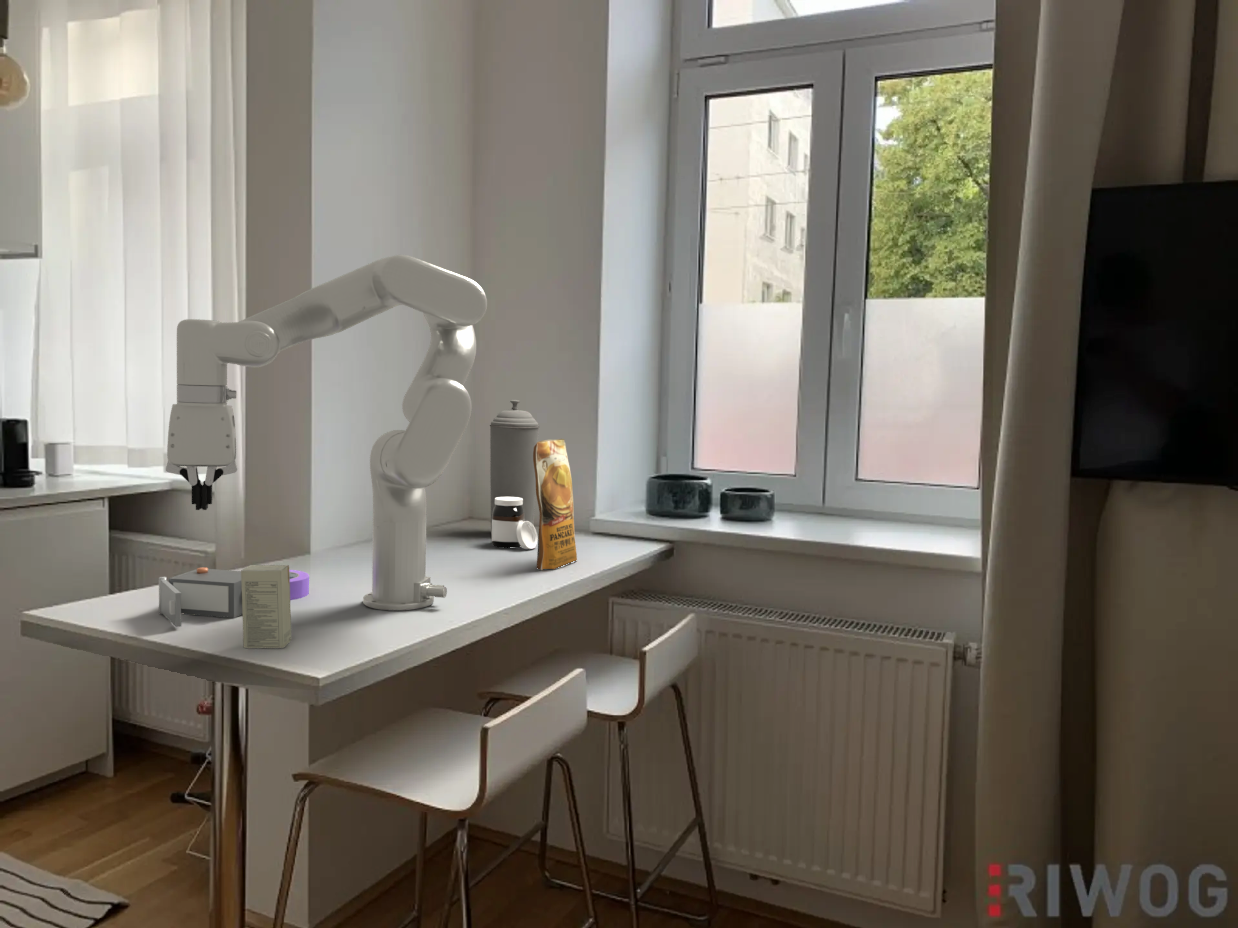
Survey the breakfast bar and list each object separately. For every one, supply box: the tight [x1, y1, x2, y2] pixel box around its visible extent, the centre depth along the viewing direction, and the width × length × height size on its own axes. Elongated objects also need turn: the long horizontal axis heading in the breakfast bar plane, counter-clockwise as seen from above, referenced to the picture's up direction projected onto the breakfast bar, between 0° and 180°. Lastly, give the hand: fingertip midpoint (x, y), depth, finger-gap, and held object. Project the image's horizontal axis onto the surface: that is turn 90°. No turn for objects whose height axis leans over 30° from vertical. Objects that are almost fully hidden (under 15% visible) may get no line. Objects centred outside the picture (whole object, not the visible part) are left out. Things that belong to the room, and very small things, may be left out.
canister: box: [489, 399, 540, 534], centre depth 257 cm, size 13×13×35 cm
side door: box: [158, 576, 182, 628], centre depth 164 cm, size 12×2×6 cm, turn 36°
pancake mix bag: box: [533, 438, 578, 571], centre depth 221 cm, size 7×19×28 cm, turn 156°
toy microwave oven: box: [168, 566, 243, 619], centre depth 172 cm, size 13×9×7 cm
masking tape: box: [289, 569, 310, 601], centre depth 185 cm, size 12×12×4 cm
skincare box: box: [240, 564, 292, 649], centre depth 152 cm, size 6×4×12 cm
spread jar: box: [491, 497, 538, 550], centre depth 241 cm, size 12×11×12 cm
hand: (201, 508), depth 163 cm, fingers closed
